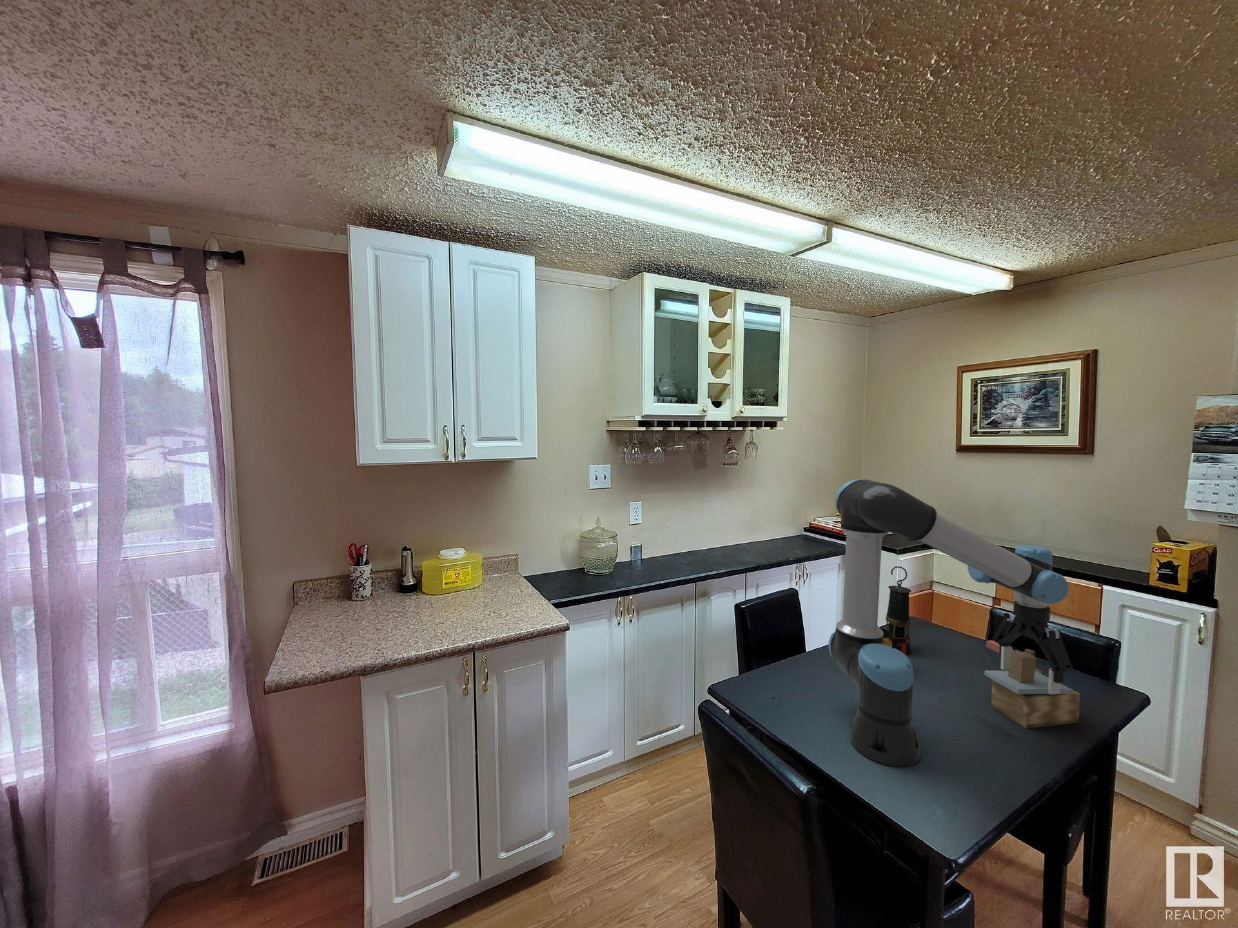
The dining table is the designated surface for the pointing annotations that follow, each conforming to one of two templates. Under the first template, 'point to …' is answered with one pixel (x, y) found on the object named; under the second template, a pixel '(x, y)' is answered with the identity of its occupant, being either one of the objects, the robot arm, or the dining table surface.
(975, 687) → the dining table surface
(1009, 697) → the open wooden box
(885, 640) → the mug
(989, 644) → the bar
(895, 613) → the lantern
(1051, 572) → the robot arm
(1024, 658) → the lid
